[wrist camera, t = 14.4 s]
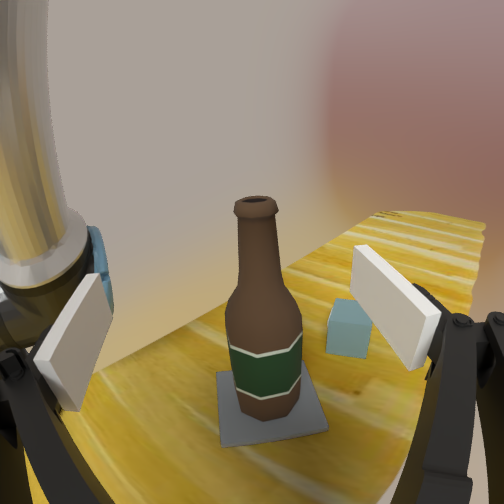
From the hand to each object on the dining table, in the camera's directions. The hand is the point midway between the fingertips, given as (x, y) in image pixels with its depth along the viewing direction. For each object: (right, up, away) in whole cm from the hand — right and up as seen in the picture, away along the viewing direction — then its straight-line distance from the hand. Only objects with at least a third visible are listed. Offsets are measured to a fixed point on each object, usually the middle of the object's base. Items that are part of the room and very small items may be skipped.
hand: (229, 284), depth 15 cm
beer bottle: (+3, -16, +19) cm, 26 cm away
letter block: (+16, -12, +29) cm, 35 cm away
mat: (+3, -17, +20) cm, 26 cm away
